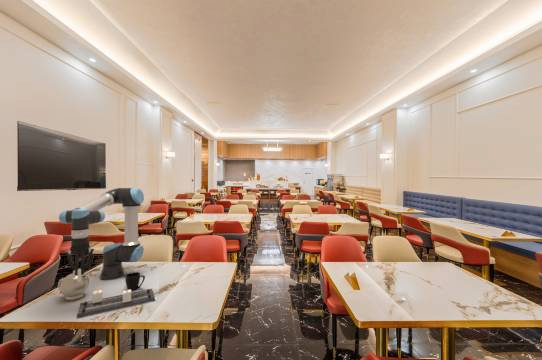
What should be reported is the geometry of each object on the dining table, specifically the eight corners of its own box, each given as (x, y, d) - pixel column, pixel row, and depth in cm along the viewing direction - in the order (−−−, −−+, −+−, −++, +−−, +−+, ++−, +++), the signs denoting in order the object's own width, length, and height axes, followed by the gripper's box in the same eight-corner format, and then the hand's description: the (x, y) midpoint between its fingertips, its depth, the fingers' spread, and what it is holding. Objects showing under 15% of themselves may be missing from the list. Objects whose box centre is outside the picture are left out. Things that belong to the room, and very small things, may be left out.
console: (80, 306, 139) (80, 300, 139) (152, 291, 158) (152, 286, 158) (77, 318, 127) (77, 312, 127) (154, 300, 145) (154, 295, 146)
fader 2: (122, 299, 141) (122, 290, 141) (130, 298, 143) (130, 288, 143) (122, 302, 138) (122, 293, 138) (131, 300, 140) (131, 291, 140)
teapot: (95, 292, 156) (95, 266, 156) (77, 303, 142) (77, 274, 142) (68, 292, 157) (68, 266, 157) (47, 302, 144) (47, 273, 144)
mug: (139, 292, 156) (140, 277, 156) (122, 291, 158) (122, 276, 158) (148, 287, 164) (148, 272, 164) (131, 286, 166) (131, 271, 166)
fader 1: (93, 300, 141) (93, 290, 141) (102, 298, 143) (102, 289, 143) (93, 303, 137) (93, 293, 137) (101, 301, 139) (101, 291, 139)
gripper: (63, 239, 130) (62, 285, 129) (94, 237, 136) (93, 280, 136) (66, 237, 136) (65, 281, 135) (95, 234, 143) (94, 276, 142)
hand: (79, 280), depth 136 cm, fingers closed
